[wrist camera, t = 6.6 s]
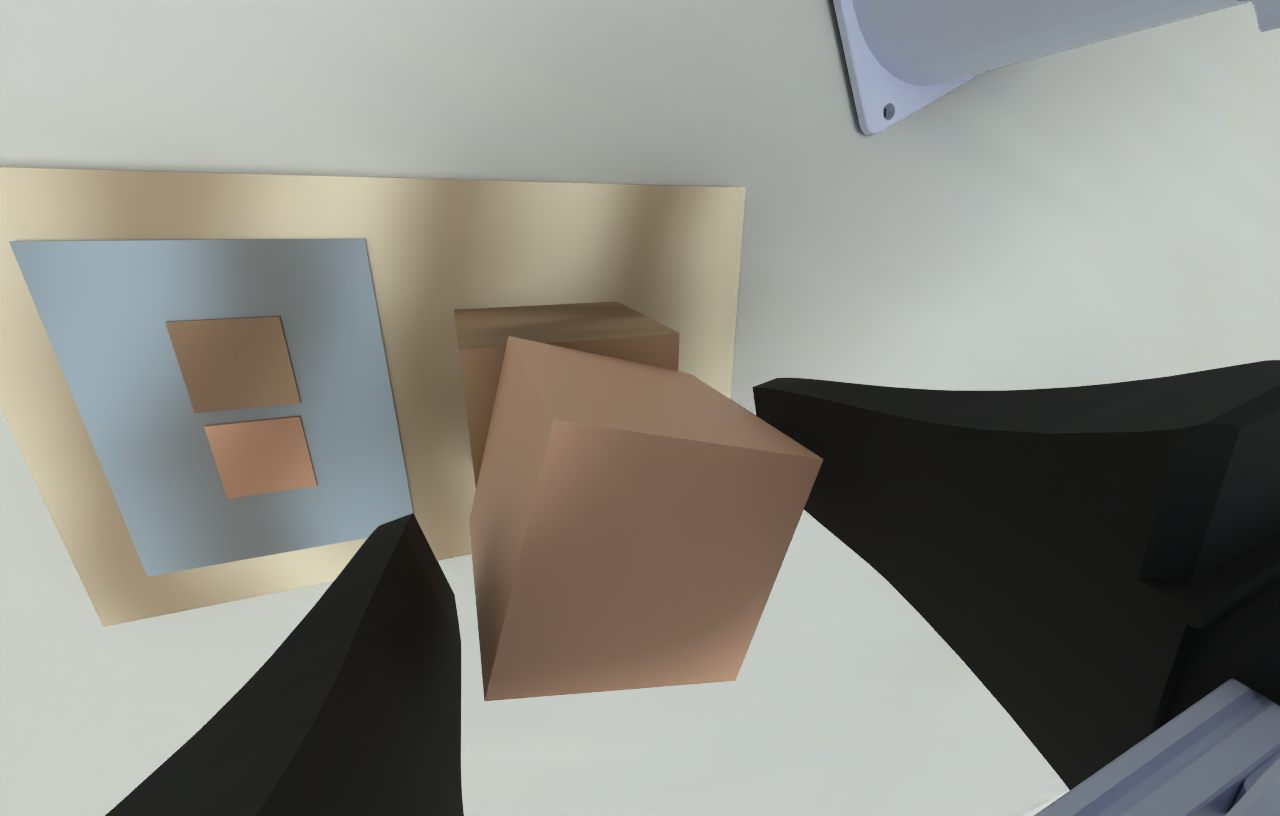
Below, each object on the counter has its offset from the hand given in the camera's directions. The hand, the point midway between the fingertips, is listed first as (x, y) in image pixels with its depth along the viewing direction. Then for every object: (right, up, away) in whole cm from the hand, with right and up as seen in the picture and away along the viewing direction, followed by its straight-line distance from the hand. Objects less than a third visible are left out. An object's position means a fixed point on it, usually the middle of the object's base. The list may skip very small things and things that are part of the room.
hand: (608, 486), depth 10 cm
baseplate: (-6, +2, +6) cm, 9 cm away
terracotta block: (-1, +1, +2) cm, 2 cm away
